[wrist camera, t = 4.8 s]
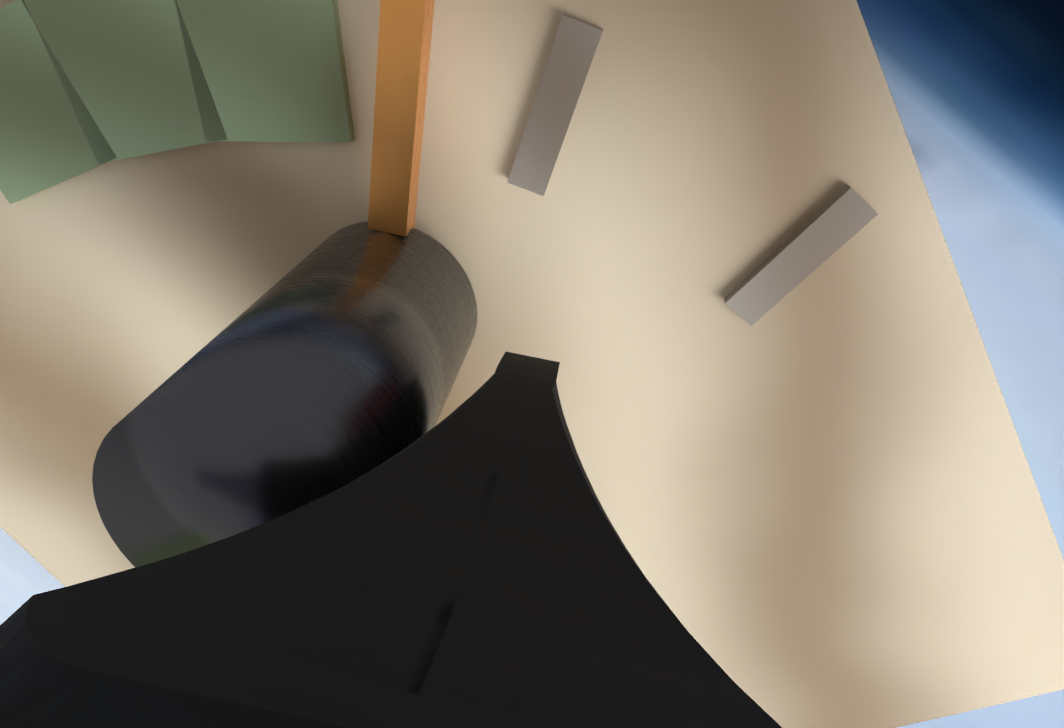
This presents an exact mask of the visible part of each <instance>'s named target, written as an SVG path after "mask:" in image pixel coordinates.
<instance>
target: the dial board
mask: <svg viewBox="0 0 1064 728" xmlns="http://www.w3.org/2000/svg"><path fill="white" fill-rule="evenodd" d="M379 18H380V0H0V527H1V528H2V529H3V530H4V531H5V532H6V533H7V534H9V535H10V536H11V537H12V538H13V539H14V540H15V541H16V542H17V543H18V544H19V545H21V546H22V547H23V548H24V549H25V550H26V551H27V552H28V553H29V554H30V555H31V556H32V557H34V558H35V559H36V560H37V561H38V562H39V563H40V564H41V565H42V566H43V567H44V568H45V569H47V570H48V571H49V572H50V573H51V574H52V575H53V576H54V577H55V578H56V579H57V580H58V581H60V582H61V583H62V584H63V585H64V586H65V587H68V586H71V585H75V584H78V583H82V582H85V581H89V580H93V579H96V578H100V577H103V576H107V575H110V574H114V573H118V572H121V571H125V570H128V569H132V568H135V567H134V566H133V565H132V564H131V563H130V561H129V560H128V559H127V558H126V557H125V556H124V555H123V553H122V552H121V551H120V550H119V548H118V547H117V545H116V544H115V543H114V541H113V540H112V538H111V537H110V535H109V533H108V531H107V530H106V528H105V526H104V524H103V522H102V520H101V517H100V515H99V512H98V509H97V506H96V502H95V498H94V494H93V483H92V475H93V464H94V461H95V457H96V453H97V451H98V449H99V447H100V445H101V443H102V441H103V439H104V438H105V436H106V435H107V434H108V432H109V431H110V430H111V429H112V428H113V427H114V426H115V425H116V424H117V423H118V422H119V421H121V420H122V419H123V418H124V417H125V416H126V415H127V414H129V413H130V412H131V411H132V410H133V409H134V408H135V407H136V406H138V405H139V404H140V403H141V402H142V401H143V400H144V399H146V398H147V397H148V396H149V395H150V394H151V393H152V392H153V391H155V390H156V389H157V388H158V387H159V386H160V385H161V384H163V383H164V382H165V381H166V380H167V379H168V378H169V377H170V376H172V375H173V374H174V373H175V372H176V371H177V370H178V369H180V368H181V367H182V366H183V365H184V364H185V363H186V362H187V361H189V360H190V359H191V358H192V357H193V356H194V355H195V354H197V353H198V352H199V351H200V350H201V349H202V348H203V347H204V346H206V345H207V344H208V343H209V342H210V341H211V340H212V339H214V338H215V337H216V336H217V335H218V334H219V333H220V332H221V331H223V330H224V329H225V328H226V327H227V326H228V325H229V324H231V323H232V322H233V321H234V320H235V319H236V318H237V317H238V316H240V315H241V314H242V313H243V312H244V311H245V310H246V309H248V308H249V307H250V306H251V305H252V304H253V303H254V302H255V301H257V300H258V299H259V298H260V297H261V296H262V295H263V294H265V293H266V292H267V291H268V290H269V289H270V288H271V287H272V286H274V285H275V284H276V283H277V282H278V281H279V280H280V279H282V278H283V277H284V276H285V275H286V274H287V273H288V272H290V271H291V270H292V269H293V268H294V267H295V266H296V265H297V264H299V263H300V262H301V261H302V260H303V259H304V258H305V257H307V256H308V255H309V254H310V253H311V252H312V251H313V250H314V249H316V248H317V247H318V246H319V245H320V244H321V243H322V242H324V241H325V240H326V239H327V238H328V237H329V236H330V235H332V234H334V233H335V232H337V231H338V230H340V229H342V228H345V227H347V226H349V225H352V224H356V223H360V222H367V221H368V214H369V196H370V178H371V160H372V142H373V125H374V107H375V89H376V71H377V53H378V35H379ZM414 228H415V229H417V230H420V231H422V232H423V233H425V234H427V235H429V236H431V237H432V238H434V239H435V240H436V241H438V242H439V243H441V244H442V245H443V246H444V247H445V248H446V249H447V250H448V251H449V252H450V253H451V254H452V255H453V256H454V257H455V258H456V259H457V261H458V262H459V263H460V265H461V266H462V268H463V269H464V271H465V272H466V274H467V276H468V278H469V280H470V282H471V285H472V288H473V291H474V294H475V299H476V303H477V326H476V331H475V335H474V338H473V341H472V343H471V346H470V348H469V350H468V352H467V355H466V357H465V359H464V362H463V364H462V366H461V368H460V371H459V373H458V375H457V377H456V380H455V382H454V384H453V387H452V389H451V391H450V393H449V396H448V398H447V400H446V402H445V405H444V407H443V409H442V411H441V414H440V416H439V418H438V421H437V423H436V425H437V424H439V423H440V422H441V421H442V420H444V419H445V418H446V417H447V416H449V415H450V414H451V413H452V412H453V411H454V410H455V409H457V408H458V407H459V406H460V405H461V404H462V403H464V402H465V401H466V400H467V399H468V398H469V397H471V396H472V395H473V394H474V393H475V392H476V391H477V390H478V389H479V388H480V387H481V386H482V385H483V384H484V383H485V382H487V381H488V380H489V378H490V377H491V376H492V375H493V374H494V373H495V370H496V368H497V366H498V364H499V362H500V360H501V358H502V357H503V355H504V354H505V352H511V353H516V354H521V355H526V356H531V357H536V358H541V359H546V360H551V361H556V362H560V365H559V370H558V375H557V380H556V383H557V389H558V394H559V398H560V402H561V406H562V410H563V414H564V417H565V420H566V423H567V426H568V429H569V432H570V434H571V437H572V440H573V443H574V446H575V448H576V451H577V454H578V456H579V458H580V461H581V463H582V466H583V468H584V470H585V472H586V474H587V477H588V479H589V481H590V483H591V485H592V487H593V489H594V492H595V494H596V496H597V498H598V500H599V501H600V503H601V505H602V507H603V509H604V511H605V513H606V515H607V516H608V518H609V520H610V522H611V524H612V525H613V527H614V529H615V530H616V532H617V534H618V535H619V537H620V539H621V540H622V542H623V544H624V545H625V547H626V548H627V550H628V551H629V553H630V554H631V556H632V557H633V559H634V560H635V562H636V563H637V565H638V566H639V568H640V569H641V571H642V572H643V574H644V575H645V577H646V578H647V580H648V581H649V582H650V584H651V585H652V586H653V587H654V589H655V590H656V591H657V593H658V594H659V595H660V596H661V598H662V599H663V600H664V601H665V603H666V604H667V605H668V607H669V608H670V609H671V610H672V612H673V613H674V614H675V616H676V617H677V618H678V619H679V621H680V622H681V623H682V624H683V626H684V627H685V628H686V629H687V631H688V632H689V633H690V634H691V635H692V636H693V637H694V639H695V640H696V641H697V642H698V643H699V644H700V645H701V646H702V647H703V648H704V650H705V651H706V652H707V653H708V654H709V655H710V656H711V657H712V658H713V659H714V661H715V662H716V663H717V664H718V665H719V666H720V667H721V668H722V669H723V670H724V672H725V673H726V674H727V675H728V676H729V677H730V678H731V679H732V680H733V681H734V682H735V683H736V684H737V685H738V686H739V687H740V688H741V689H742V690H743V691H744V692H745V693H746V694H747V695H748V696H749V697H751V698H752V699H753V700H754V701H755V702H756V703H757V704H758V705H759V706H760V707H761V708H762V709H763V710H764V711H765V712H766V713H767V714H768V715H769V716H771V717H772V718H773V719H774V720H775V721H776V722H777V723H778V724H779V725H780V726H781V727H782V728H896V727H900V726H905V725H909V724H914V723H918V722H922V721H927V720H931V719H936V718H940V717H944V716H949V715H953V714H958V713H962V712H966V711H971V710H975V709H980V708H984V707H988V706H993V705H997V704H1002V703H1006V702H1010V701H1015V700H1019V699H1024V698H1028V697H1032V696H1037V695H1041V694H1046V693H1050V692H1054V691H1059V690H1063V689H1064V560H1063V557H1062V554H1061V552H1060V549H1059V546H1058V544H1057V541H1056V538H1055V535H1054V533H1053V530H1052V527H1051V525H1050V522H1049V519H1048V517H1047V514H1046V511H1045V508H1044V506H1043V503H1042V500H1041V498H1040V495H1039V492H1038V490H1037V487H1036V484H1035V481H1034V479H1033V476H1032V473H1031V471H1030V468H1029V465H1028V463H1027V460H1026V457H1025V454H1024V452H1023V449H1022V446H1021V444H1020V441H1019V438H1018V436H1017V433H1016V430H1015V427H1014V425H1013V422H1012V419H1011V417H1010V414H1009V411H1008V409H1007V406H1006V403H1005V400H1004V398H1003V395H1002V392H1001V390H1000V387H999V384H998V382H997V379H996V376H995V373H994V371H993V368H992V365H991V363H990V360H989V357H988V355H987V352H986V349H985V346H984V344H983V341H982V338H981V336H980V333H979V330H978V328H977V325H976V322H975V319H974V317H973V314H972V311H971V309H970V306H969V303H968V301H967V298H966V295H965V292H964V290H963V287H962V284H961V282H960V279H959V276H958V274H957V271H956V268H955V265H954V263H953V260H952V257H951V255H950V252H949V249H948V247H947V244H946V241H945V238H944V236H943V233H942V230H941V228H940V225H939V222H938V220H937V217H936V214H935V211H934V209H933V206H932V203H931V201H930V198H929V195H928V193H927V190H926V187H925V184H924V182H923V179H922V176H921V174H920V171H919V168H918V166H917V163H916V160H915V157H914V155H913V152H912V149H911V147H910V144H909V141H908V139H907V136H906V133H905V130H904V128H903V125H902V122H901V120H900V117H899V114H898V112H897V109H896V106H895V103H894V101H893V98H892V95H891V93H890V90H889V87H888V85H887V82H886V79H885V76H884V74H883V71H882V68H881V66H880V63H879V60H878V58H877V55H876V52H875V49H874V47H873V44H872V41H871V39H870V36H869V33H868V31H867V28H866V25H865V22H864V20H863V17H862V14H861V12H860V9H859V6H858V4H857V1H856V0H435V3H434V14H433V25H432V37H431V48H430V59H429V70H428V82H427V93H426V104H425V115H424V126H423V138H422V149H421V160H420V171H419V183H418V194H417V205H416V216H415V226H414ZM436 425H435V426H436Z"/></svg>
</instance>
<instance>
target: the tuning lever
mask: <svg viewBox="0 0 1064 728" xmlns="http://www.w3.org/2000/svg"><path fill="white" fill-rule="evenodd" d="M434 3H435V0H380V18H379V35H378V53H377V71H376V89H375V107H374V125H373V142H372V160H371V178H370V196H369V214H368V221H367V222H360V223H356V224H352V225H349V226H347V227H345V228H342V229H340V230H338V231H337V232H335V233H334V234H332V235H330V236H329V237H328V238H327V239H326V240H325V241H324V242H322V243H321V244H320V245H319V246H318V247H317V248H316V249H314V250H313V251H312V252H311V253H310V254H309V255H308V256H307V257H305V258H304V259H303V260H302V261H301V262H300V263H299V264H297V265H296V266H295V267H294V268H293V269H292V270H291V271H290V272H288V273H287V274H286V275H285V276H284V277H283V278H282V279H280V280H279V281H278V282H277V283H276V284H275V285H274V286H272V287H271V288H270V289H269V290H268V291H267V292H266V293H265V294H263V295H262V296H261V297H260V298H259V299H258V300H257V301H255V302H254V303H253V304H252V305H251V306H250V307H249V308H248V309H246V310H245V311H244V312H243V313H242V314H241V315H240V316H238V317H237V318H236V319H235V320H234V321H233V322H232V323H231V324H229V325H228V326H227V327H226V328H225V329H224V330H223V331H221V332H220V333H219V334H218V335H217V336H216V337H215V338H214V339H212V340H211V341H210V342H209V343H208V344H207V345H206V346H204V347H203V348H202V349H201V350H200V351H199V352H198V353H197V354H195V355H194V356H193V357H192V358H191V359H190V360H189V361H187V362H186V363H185V364H184V365H183V366H182V367H181V368H180V369H178V370H177V371H176V372H175V373H174V374H173V375H172V376H170V377H169V378H168V379H167V380H166V381H165V382H164V383H163V384H161V385H160V386H159V387H158V388H157V389H156V390H155V391H153V392H152V393H151V394H150V395H149V396H148V397H147V398H146V399H144V400H143V401H142V402H141V403H140V404H139V405H138V406H136V407H135V408H134V409H133V410H132V411H131V412H130V413H129V414H127V415H126V416H125V417H124V418H123V419H122V420H121V421H119V422H118V423H117V424H116V425H115V426H114V427H113V428H112V429H111V430H110V431H109V432H108V434H107V435H106V436H105V438H104V439H103V441H102V443H101V445H100V447H99V449H98V451H97V453H96V457H95V461H94V464H93V475H92V483H93V494H94V498H95V502H96V506H97V509H98V512H99V515H100V517H101V520H102V522H103V524H104V526H105V528H106V530H107V531H108V533H109V535H110V537H111V538H112V540H113V541H114V543H115V544H116V545H117V547H118V548H119V550H120V551H121V552H122V553H123V555H124V556H125V557H126V558H127V559H128V560H129V561H130V563H131V564H132V565H133V566H134V567H139V566H142V565H146V564H150V563H153V562H157V561H160V560H163V559H166V558H169V557H172V556H175V555H178V554H182V553H185V552H188V551H191V550H193V549H196V548H199V547H202V546H205V545H208V544H210V543H213V542H216V541H219V540H222V539H225V538H227V537H230V536H233V535H235V534H238V533H241V532H243V531H246V530H248V529H251V528H253V527H256V526H258V525H261V524H264V523H266V522H269V521H271V520H273V519H276V518H278V517H280V516H282V515H284V514H287V513H289V512H291V511H293V510H295V509H297V508H299V507H302V506H304V505H306V504H308V503H310V502H312V501H314V500H316V499H319V498H321V497H323V496H325V495H327V494H329V493H331V492H334V491H336V490H337V489H339V488H341V487H343V486H345V485H347V484H349V483H350V482H352V481H354V480H356V479H357V478H359V477H361V476H362V475H364V474H366V473H368V472H369V471H371V470H373V469H374V468H376V467H377V466H379V465H381V464H382V463H384V462H385V461H387V460H388V459H390V458H391V457H393V456H395V455H396V454H398V453H399V452H401V451H402V450H403V449H405V448H406V447H408V446H409V445H410V444H412V443H413V442H414V441H416V440H417V439H418V438H420V437H421V436H422V435H424V434H425V433H427V432H428V431H429V430H431V429H432V428H433V427H435V425H436V423H437V421H438V418H439V416H440V414H441V411H442V409H443V407H444V405H445V402H446V400H447V398H448V396H449V393H450V391H451V389H452V387H453V384H454V382H455V380H456V377H457V375H458V373H459V371H460V368H461V366H462V364H463V362H464V359H465V357H466V355H467V352H468V350H469V348H470V346H471V343H472V341H473V338H474V335H475V331H476V326H477V303H476V299H475V294H474V291H473V288H472V285H471V282H470V280H469V278H468V276H467V274H466V272H465V271H464V269H463V268H462V266H461V265H460V263H459V262H458V261H457V259H456V258H455V257H454V256H453V255H452V254H451V253H450V252H449V251H448V250H447V249H446V248H445V247H444V246H443V245H442V244H441V243H439V242H438V241H436V240H435V239H434V238H432V237H431V236H429V235H427V234H425V233H423V232H422V231H420V230H417V229H415V228H414V226H415V216H416V205H417V194H418V183H419V171H420V160H421V149H422V138H423V126H424V115H425V104H426V93H427V82H428V70H429V59H430V48H431V37H432V25H433V14H434Z"/></svg>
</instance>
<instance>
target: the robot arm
mask: <svg viewBox="0 0 1064 728" xmlns="http://www.w3.org/2000/svg"><path fill="white" fill-rule="evenodd" d="M559 365H560V362H556V361H551V360H546V359H541V358H536V357H531V356H526V355H521V354H516V353H511V352H505V354H504V355H503V357H502V358H501V360H500V362H499V364H498V366H497V368H496V370H495V373H494V374H493V375H492V376H491V377H490V378H489V380H488V381H487V382H485V383H484V384H483V385H482V386H481V387H480V388H479V389H478V390H477V391H476V392H475V393H474V394H473V395H472V396H471V397H469V398H468V399H467V400H466V401H465V402H464V403H462V404H461V405H460V406H459V407H458V408H457V409H455V410H454V411H453V412H452V413H451V414H450V415H449V416H447V417H446V418H445V419H444V420H442V421H441V422H440V423H439V424H437V425H436V426H435V427H433V428H432V429H431V430H429V431H428V432H427V433H425V434H424V435H422V436H421V437H420V438H418V439H417V440H416V441H414V442H413V443H412V444H410V445H409V446H408V447H406V448H405V449H403V450H402V451H401V452H399V453H398V454H396V455H395V456H393V457H391V458H390V459H388V460H387V461H385V462H384V463H382V464H381V465H379V466H377V467H376V468H374V469H373V470H371V471H369V472H368V473H366V474H364V475H362V476H361V477H359V478H357V479H356V480H354V481H352V482H350V483H349V484H347V485H345V486H343V487H341V488H339V489H337V490H336V491H334V492H331V493H329V494H327V495H325V496H323V497H321V498H319V499H316V500H314V501H312V502H310V503H308V504H306V505H304V506H302V507H299V508H297V509H295V510H293V511H291V512H289V513H287V514H284V515H282V516H280V517H278V518H276V519H273V520H271V521H269V522H266V523H264V524H261V525H258V526H256V527H253V528H251V529H248V530H246V531H243V532H241V533H238V534H235V535H233V536H230V537H227V538H225V539H222V540H219V541H216V542H213V543H210V544H208V545H205V546H202V547H199V548H196V549H193V550H191V551H188V552H185V553H182V554H178V555H175V556H172V557H169V558H166V559H163V560H160V561H157V562H153V563H150V564H146V565H142V566H139V567H135V568H132V569H128V570H125V571H121V572H118V573H114V574H110V575H107V576H103V577H100V578H96V579H93V580H89V581H85V582H82V583H78V584H75V585H71V586H68V587H64V588H60V589H56V590H52V591H48V592H44V593H40V594H36V595H33V596H32V597H31V598H30V599H29V600H28V601H26V602H25V603H24V604H23V605H22V606H21V607H20V608H19V609H18V610H17V611H16V612H15V613H13V614H12V615H11V616H10V617H9V618H8V619H7V620H6V621H5V622H4V623H3V624H1V625H0V728H782V727H781V726H780V725H779V724H778V723H777V722H776V721H775V720H774V719H773V718H772V717H771V716H769V715H768V714H767V713H766V712H765V711H764V710H763V709H762V708H761V707H760V706H759V705H758V704H757V703H756V702H755V701H754V700H753V699H752V698H751V697H749V696H748V695H747V694H746V693H745V692H744V691H743V690H742V689H741V688H740V687H739V686H738V685H737V684H736V683H735V682H734V681H733V680H732V679H731V678H730V677H729V676H728V675H727V674H726V673H725V672H724V670H723V669H722V668H721V667H720V666H719V665H718V664H717V663H716V662H715V661H714V659H713V658H712V657H711V656H710V655H709V654H708V653H707V652H706V651H705V650H704V648H703V647H702V646H701V645H700V644H699V643H698V642H697V641H696V640H695V639H694V637H693V636H692V635H691V634H690V633H689V632H688V631H687V629H686V628H685V627H684V626H683V624H682V623H681V622H680V621H679V619H678V618H677V617H676V616H675V614H674V613H673V612H672V610H671V609H670V608H669V607H668V605H667V604H666V603H665V601H664V600H663V599H662V598H661V596H660V595H659V594H658V593H657V591H656V590H655V589H654V587H653V586H652V585H651V584H650V582H649V581H648V580H647V578H646V577H645V575H644V574H643V572H642V571H641V569H640V568H639V566H638V565H637V563H636V562H635V560H634V559H633V557H632V556H631V554H630V553H629V551H628V550H627V548H626V547H625V545H624V544H623V542H622V540H621V539H620V537H619V535H618V534H617V532H616V530H615V529H614V527H613V525H612V524H611V522H610V520H609V518H608V516H607V515H606V513H605V511H604V509H603V507H602V505H601V503H600V501H599V500H598V498H597V496H596V494H595V492H594V489H593V487H592V485H591V483H590V481H589V479H588V477H587V474H586V472H585V470H584V468H583V466H582V463H581V461H580V458H579V456H578V454H577V451H576V448H575V446H574V443H573V440H572V437H571V434H570V432H569V429H568V426H567V423H566V420H565V417H564V414H563V410H562V406H561V402H560V398H559V394H558V389H557V383H556V380H557V375H558V370H559Z"/></svg>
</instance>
